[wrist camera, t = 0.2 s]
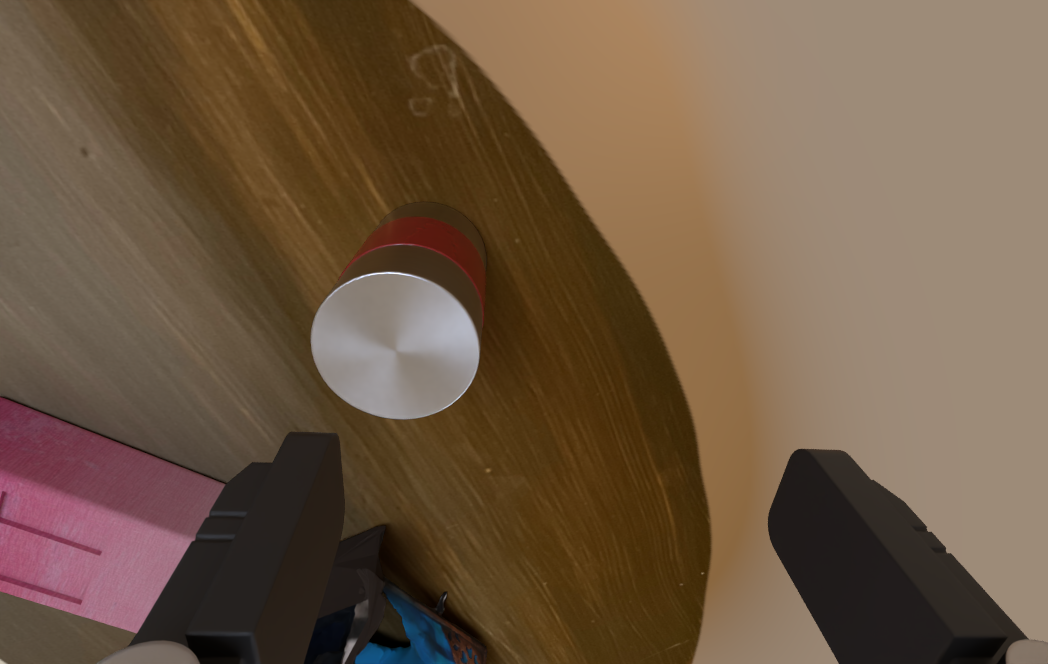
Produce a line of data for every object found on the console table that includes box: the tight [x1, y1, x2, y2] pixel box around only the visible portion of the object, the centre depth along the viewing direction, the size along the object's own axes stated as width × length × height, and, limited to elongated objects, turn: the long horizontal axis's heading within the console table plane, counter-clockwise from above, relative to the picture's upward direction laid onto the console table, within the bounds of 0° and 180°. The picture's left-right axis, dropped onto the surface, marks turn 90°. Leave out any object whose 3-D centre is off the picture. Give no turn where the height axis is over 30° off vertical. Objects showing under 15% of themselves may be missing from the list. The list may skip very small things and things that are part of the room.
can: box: [311, 202, 487, 419], centre depth 24 cm, size 6×6×10 cm
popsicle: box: [0, 397, 226, 633], centre depth 32 cm, size 9×5×20 cm
